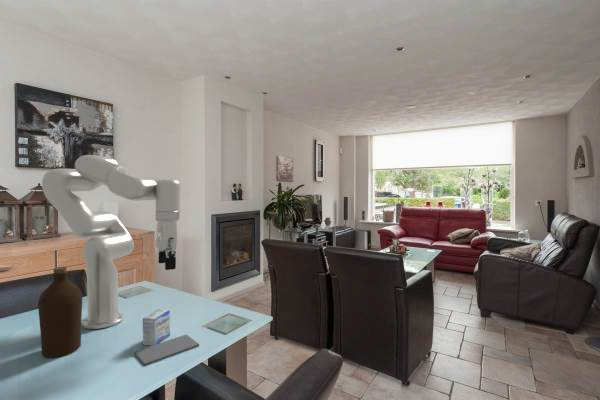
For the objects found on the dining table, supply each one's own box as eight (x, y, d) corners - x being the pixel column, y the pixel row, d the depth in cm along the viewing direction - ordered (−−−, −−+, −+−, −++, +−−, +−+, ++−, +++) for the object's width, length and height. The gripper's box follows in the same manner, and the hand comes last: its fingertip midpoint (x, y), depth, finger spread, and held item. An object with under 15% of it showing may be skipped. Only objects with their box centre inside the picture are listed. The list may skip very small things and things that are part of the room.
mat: (134, 353, 95) (134, 351, 95) (186, 336, 106) (186, 334, 106) (144, 365, 88) (144, 363, 88) (199, 346, 99) (199, 344, 99)
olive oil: (75, 356, 93) (73, 271, 92) (31, 361, 90) (29, 273, 89) (88, 339, 103) (86, 262, 102) (49, 343, 100) (47, 264, 99)
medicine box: (155, 346, 99) (154, 319, 98) (142, 345, 100) (142, 317, 99) (170, 335, 106) (170, 309, 106) (158, 333, 107) (158, 308, 107)
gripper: (150, 213, 113) (149, 261, 114) (161, 219, 99) (160, 273, 99) (172, 213, 117) (171, 259, 118) (186, 218, 103) (185, 270, 104)
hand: (166, 266), depth 109 cm, fingers open, 9 cm apart
